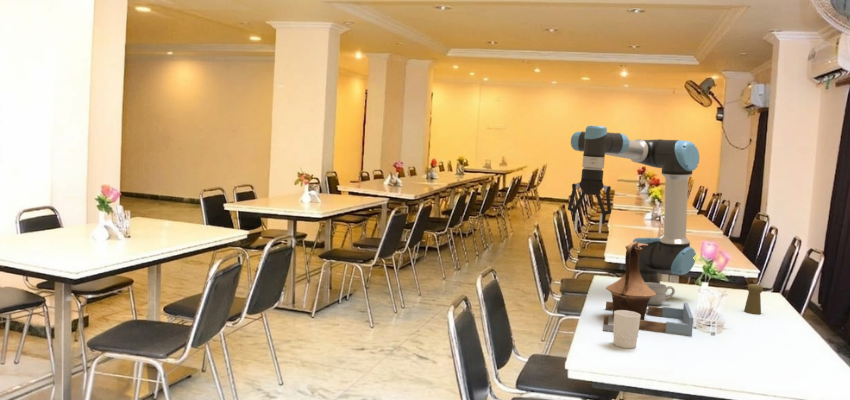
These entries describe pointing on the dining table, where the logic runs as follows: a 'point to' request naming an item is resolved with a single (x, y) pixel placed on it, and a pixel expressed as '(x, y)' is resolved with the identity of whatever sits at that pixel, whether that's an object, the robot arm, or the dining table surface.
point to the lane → (643, 323)
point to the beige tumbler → (626, 328)
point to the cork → (753, 299)
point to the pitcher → (631, 285)
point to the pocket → (679, 314)
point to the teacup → (659, 293)
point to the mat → (608, 328)
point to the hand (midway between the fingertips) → (587, 231)
